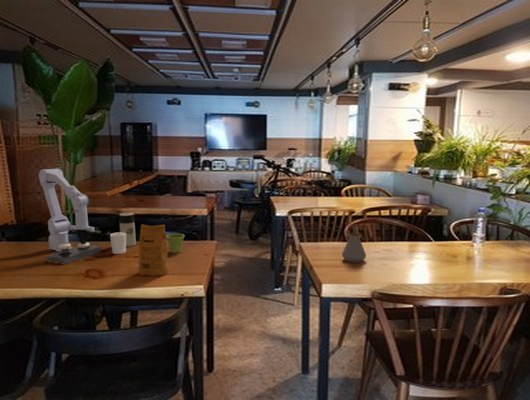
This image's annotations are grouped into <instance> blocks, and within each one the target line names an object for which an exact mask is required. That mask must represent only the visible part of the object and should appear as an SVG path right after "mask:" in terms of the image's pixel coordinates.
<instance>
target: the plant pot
mask: <svg viewBox="0 0 530 400" xmlns="http://www.w3.org/2000/svg"><path fill="white" fill-rule="evenodd" d="M166 238H167V243H168V248H169V252H170V253H171V254H178V253H181V252H183V245H184V244H183V243H184V238H185V234H183V233H172V234H166Z"/></svg>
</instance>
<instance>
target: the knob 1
mask: <svg viewBox="0 0 530 400" xmlns="http://www.w3.org/2000/svg"><path fill="white" fill-rule="evenodd" d="M70 247H72V243H69V242H68V243H63V244H59V245H58V248H59V249H61V255H69V248H70Z"/></svg>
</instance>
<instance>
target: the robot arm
mask: <svg viewBox="0 0 530 400" xmlns="http://www.w3.org/2000/svg"><path fill="white" fill-rule="evenodd" d="M63 173H64V172H63V171H62V170H61V169H60V168H57V167H56V168H48V169H43V168H42V169H40V171H39V173H38V179H39V182H40V186H41V187H42V190H43V192H44V196H45V200H46V203H47V206H48V210H49V213H50V216H51V217H50V218H49V219H48V220H47V226H48V227H47V228H48V229H47V230H48V232H49V233H50V234H49V236H48V247H49V248H48V249H53V250H56V251H55V252H60V251H61V249H59V248H58V245H59V244H63V243H69V234H68V233H69V232H70V230H71V231H74V232H75V233H74V234H75V235H76V236H77V238H78V239H79V243H81V244H86V242H87V241H88V236H89V234H90V232H91V233H92V232H95V231H96V230H95V227H94V226H90V225H89V218H88V207H87V206H88V205H89V203H90V199H89V197H88V195H87V194H84V193H81V191H79V190H78V189H77V188H76V186H74V185H71V184H70V183H69V181H67V180H66V177H65V176H64V174H63ZM57 184H58V185H59V186H60V187H61V188H62V189H63V191H64V194H65V195H66V196H67V197H68V198H69V200H71V205H72V207H73V210H74V214H75V215H74V216H75V225H72V224H71V222H70V221H69V218H68V217H67V216H66V215H63V213H62V209H61V207H60V202H59V200H58V195H57V192H56V188H55V187H56V185H57ZM75 230H76V231H75ZM73 247H74V246H73ZM73 247H72V246H71V247H70V248H73ZM70 248H69V249H70Z"/></svg>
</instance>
